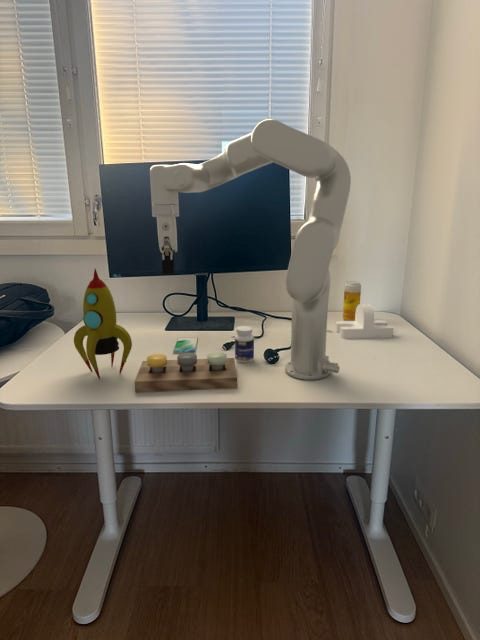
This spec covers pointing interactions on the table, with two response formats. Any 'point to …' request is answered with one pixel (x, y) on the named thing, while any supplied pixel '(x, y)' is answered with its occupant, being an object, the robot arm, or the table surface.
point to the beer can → (351, 299)
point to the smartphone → (185, 345)
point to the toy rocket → (100, 326)
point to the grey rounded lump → (187, 361)
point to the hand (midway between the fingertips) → (168, 271)
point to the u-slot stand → (364, 325)
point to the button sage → (217, 360)
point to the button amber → (157, 362)
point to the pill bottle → (244, 344)
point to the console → (186, 377)
